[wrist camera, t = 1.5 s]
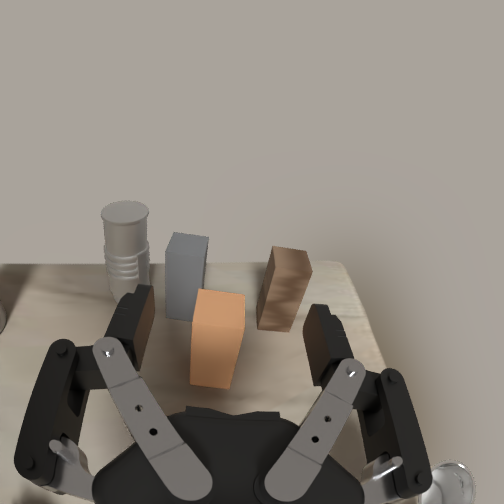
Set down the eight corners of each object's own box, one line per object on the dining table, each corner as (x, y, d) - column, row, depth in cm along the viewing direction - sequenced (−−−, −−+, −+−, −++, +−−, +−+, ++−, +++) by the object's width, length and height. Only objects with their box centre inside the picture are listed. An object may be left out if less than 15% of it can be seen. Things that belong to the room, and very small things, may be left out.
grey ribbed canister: (130, 316, 40) (121, 228, 32) (102, 294, 42) (91, 211, 34) (159, 294, 45) (159, 210, 37) (131, 275, 47) (128, 196, 39)
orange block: (189, 384, 33) (192, 322, 26) (193, 353, 37) (198, 288, 30) (229, 389, 33) (244, 329, 27) (230, 358, 37) (244, 294, 31)
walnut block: (257, 329, 43) (275, 266, 36) (256, 307, 47) (272, 245, 41) (289, 332, 43) (312, 271, 37) (285, 310, 48) (306, 251, 41)
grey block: (166, 317, 41) (165, 251, 35) (172, 295, 45) (173, 232, 39) (198, 322, 42) (204, 257, 35) (202, 300, 46) (208, 236, 40)
